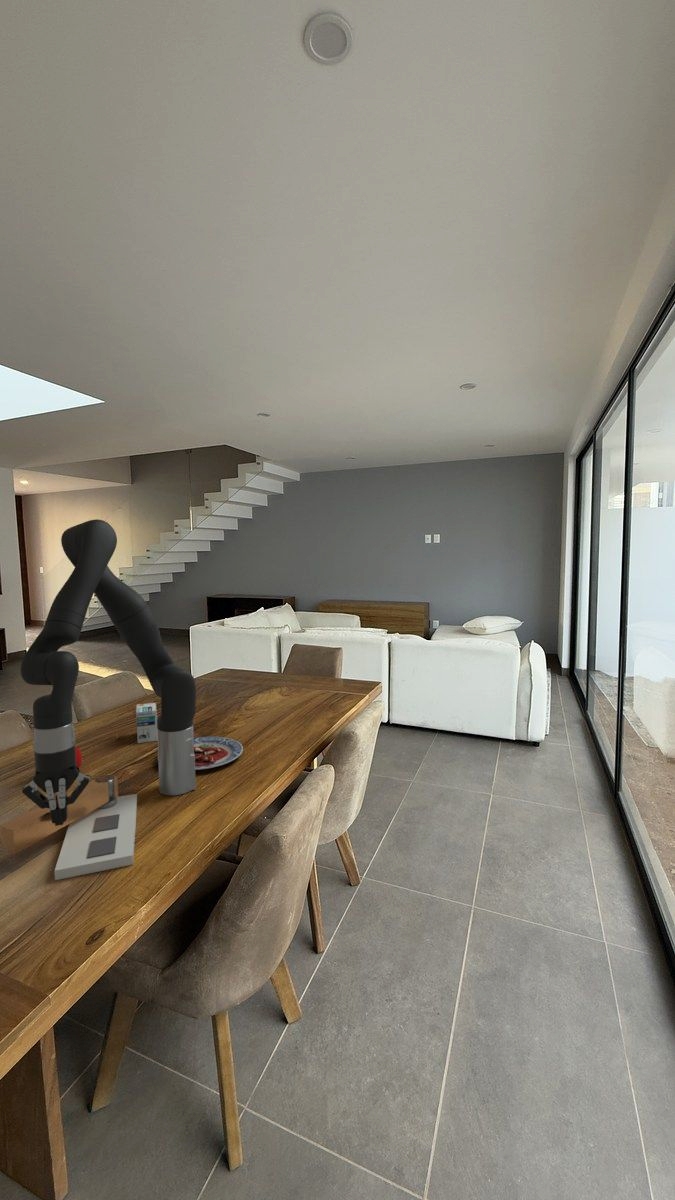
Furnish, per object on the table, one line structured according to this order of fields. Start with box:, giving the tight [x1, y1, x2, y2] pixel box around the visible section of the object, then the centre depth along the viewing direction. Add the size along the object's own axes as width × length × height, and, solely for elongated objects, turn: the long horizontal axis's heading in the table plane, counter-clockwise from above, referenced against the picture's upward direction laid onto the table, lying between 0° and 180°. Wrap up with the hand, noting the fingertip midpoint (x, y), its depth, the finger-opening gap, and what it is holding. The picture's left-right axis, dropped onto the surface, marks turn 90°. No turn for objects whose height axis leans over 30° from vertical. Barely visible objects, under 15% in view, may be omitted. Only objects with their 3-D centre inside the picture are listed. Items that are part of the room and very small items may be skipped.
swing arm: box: [0, 773, 119, 855], centre depth 110 cm, size 4×26×5 cm, turn 157°
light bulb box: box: [135, 702, 158, 744], centre depth 171 cm, size 11×7×11 cm, turn 22°
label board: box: [54, 793, 138, 881], centre depth 111 cm, size 14×28×3 cm, turn 21°
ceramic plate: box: [194, 736, 244, 771], centre depth 154 cm, size 26×26×3 cm
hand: (59, 823), depth 105 cm, fingers closed
